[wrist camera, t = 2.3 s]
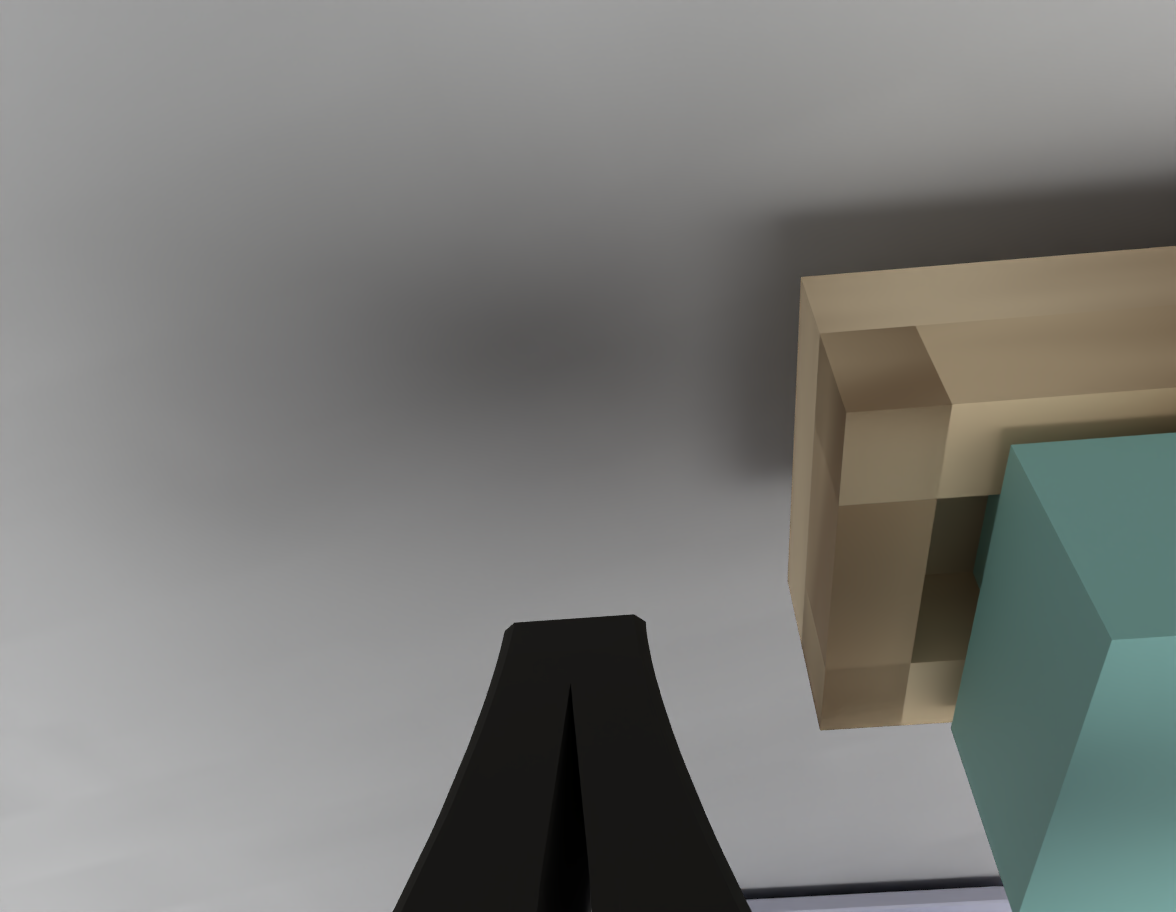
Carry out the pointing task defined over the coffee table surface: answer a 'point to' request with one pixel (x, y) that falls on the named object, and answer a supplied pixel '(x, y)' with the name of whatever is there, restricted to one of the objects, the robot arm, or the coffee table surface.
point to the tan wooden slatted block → (946, 447)
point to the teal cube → (1077, 676)
